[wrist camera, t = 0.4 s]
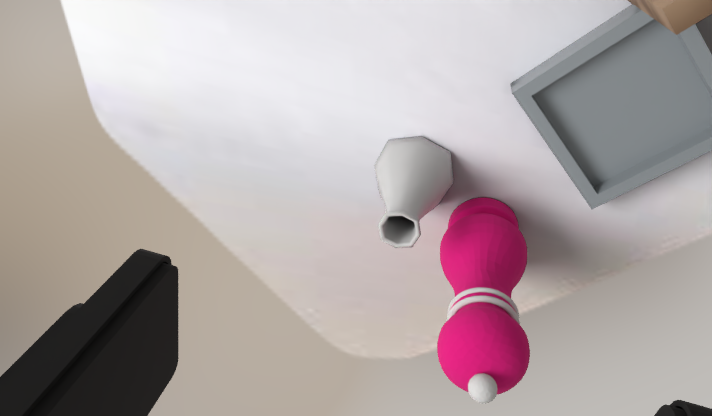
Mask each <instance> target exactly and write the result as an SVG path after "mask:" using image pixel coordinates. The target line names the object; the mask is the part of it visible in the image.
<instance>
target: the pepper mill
mask: <svg viewBox="0 0 712 416" xmlns="http://www.w3.org/2000/svg"><path fill="white" fill-rule="evenodd" d="M440 260H441V265H442V268H443V271H444V274H445V276H446V278H447V280H448V281H449V282H450V284H451V285H452V287H453V289H454V292H455V297H454V298H453V300H452V301H451V303H450V305H449V307H448V317H447V322H446V323H445V324H444V325H443V327H442V329H441V331H440V334H439V338H438V357H439V362H440V364H441V367H442V369H443V371H444V373H445V374H446V376H447V377H448V378H449V379H450V381H452V382H453V383H454V384H455V385H457V386H458V387H460V388H461V389H463V390H465V391H467V392H469V394H470V396H471V397H472V398H473V399H474V400H475V401H477V402H479V403H489V402H490V401H492V400H493V399H494V398H495V397H496V395H497V394H501V393H503V392H506V391H508V390H509V389H511V388H512V387H514V386H515V385H516V384H517V383H518V382H519V381H520V380H521V379H522V377H523V376H524V374H525V373H526V370H527V368H528V363H529V357H530V350H529V343H528V339H527V336H526V334H525V332H524V330H523V329H522V327H521V326H520V323H519V313H518V309H517V306H516V305H515V303H514V302H513V300H512V299H511V293H512V289H513V288H514V287H515V286H516V285H517V283H518V282H519V281H520V279H521V277H522V275H523V273H524V270H525V267H526V264H527V246H526V242H525V239H524V237H523V235H522V233H521V232H520V231H519V227H518V221H517V218H516V216H515V214H514V212H513V211H512V210H511V209H510V208H509V207H508V206H507V205H506V204H504V203H502V202H500V201H498V200H495V199H492V198H475V199H471V200H468V201H466V202H464V203H462V204H461V205H459V206H458V207H457V208H456V209H455V210H454V212H453V213H452V215H451V217H450V220H449V224H448V230H447V231H446V233H445V234H444V236H443V239H442V241H441V246H440Z"/></svg>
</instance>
